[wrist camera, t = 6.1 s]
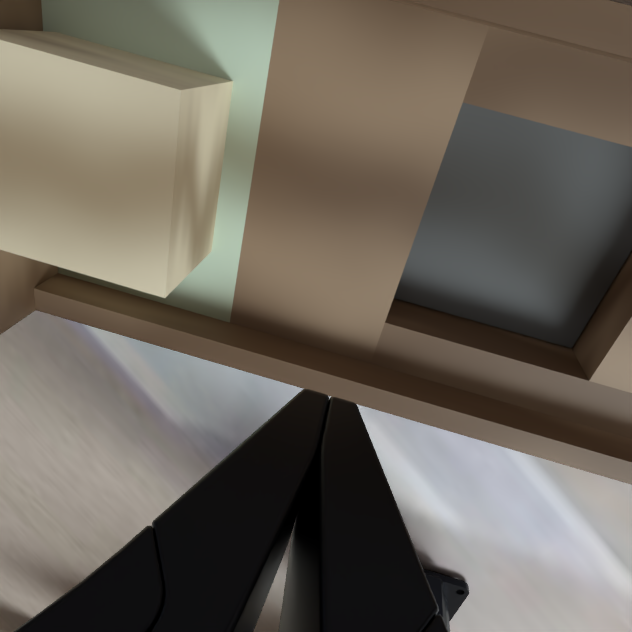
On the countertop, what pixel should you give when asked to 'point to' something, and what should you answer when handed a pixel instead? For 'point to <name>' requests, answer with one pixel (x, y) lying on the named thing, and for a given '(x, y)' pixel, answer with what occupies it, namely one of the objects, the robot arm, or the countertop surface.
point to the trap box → (398, 210)
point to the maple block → (108, 159)
